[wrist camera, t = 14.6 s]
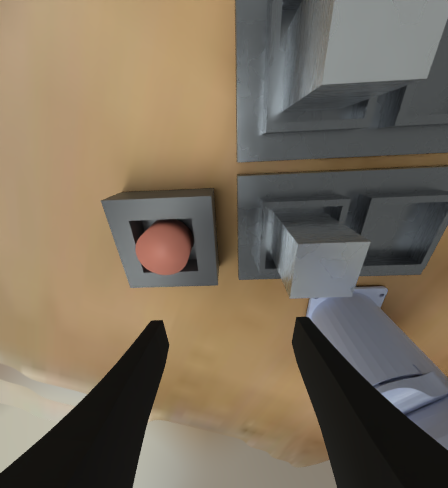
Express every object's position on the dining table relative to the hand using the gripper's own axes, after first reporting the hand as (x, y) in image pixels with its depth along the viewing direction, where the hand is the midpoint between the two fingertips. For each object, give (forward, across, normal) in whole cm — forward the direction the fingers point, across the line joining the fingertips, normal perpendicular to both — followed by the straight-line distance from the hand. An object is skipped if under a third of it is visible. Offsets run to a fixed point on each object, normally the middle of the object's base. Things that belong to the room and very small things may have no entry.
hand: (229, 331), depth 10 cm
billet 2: (+8, -6, -2) cm, 11 cm away
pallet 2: (+9, -10, -2) cm, 14 cm away
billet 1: (+8, -6, -13) cm, 17 cm away
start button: (+8, +5, -2) cm, 10 cm away
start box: (+9, +5, -2) cm, 11 cm away
